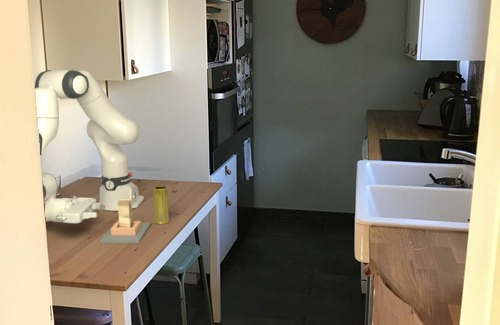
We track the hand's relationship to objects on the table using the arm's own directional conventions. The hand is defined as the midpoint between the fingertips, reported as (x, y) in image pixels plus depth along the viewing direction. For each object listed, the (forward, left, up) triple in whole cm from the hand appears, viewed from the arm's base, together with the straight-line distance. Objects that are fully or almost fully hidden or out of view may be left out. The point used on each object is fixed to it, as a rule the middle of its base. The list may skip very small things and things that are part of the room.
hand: (100, 210), depth 208 cm
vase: (-17, +17, -9) cm, 26 cm away
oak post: (-2, +9, -8) cm, 12 cm away
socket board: (-2, +9, -9) cm, 13 cm away
